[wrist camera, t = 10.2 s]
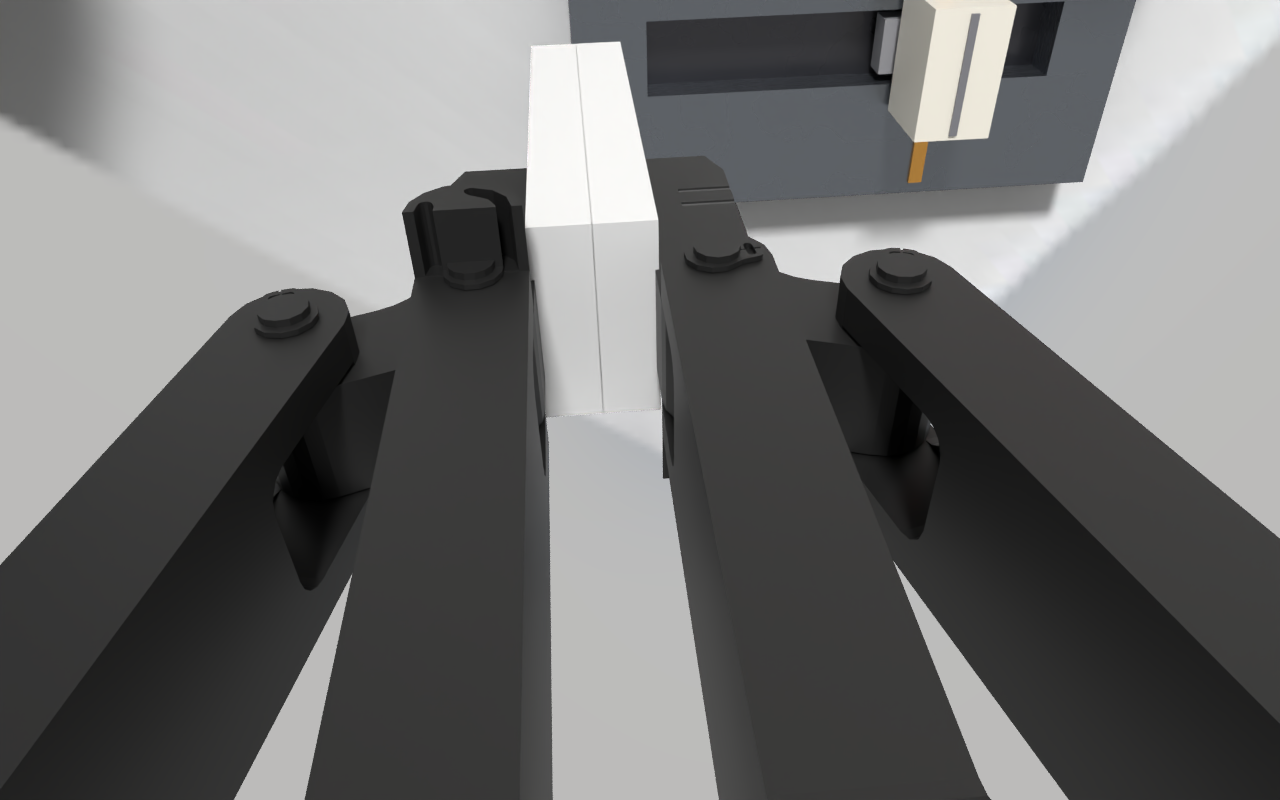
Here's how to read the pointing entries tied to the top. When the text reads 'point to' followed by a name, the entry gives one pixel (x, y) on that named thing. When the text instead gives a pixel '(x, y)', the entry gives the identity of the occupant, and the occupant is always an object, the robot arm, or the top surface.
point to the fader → (944, 65)
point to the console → (849, 94)
